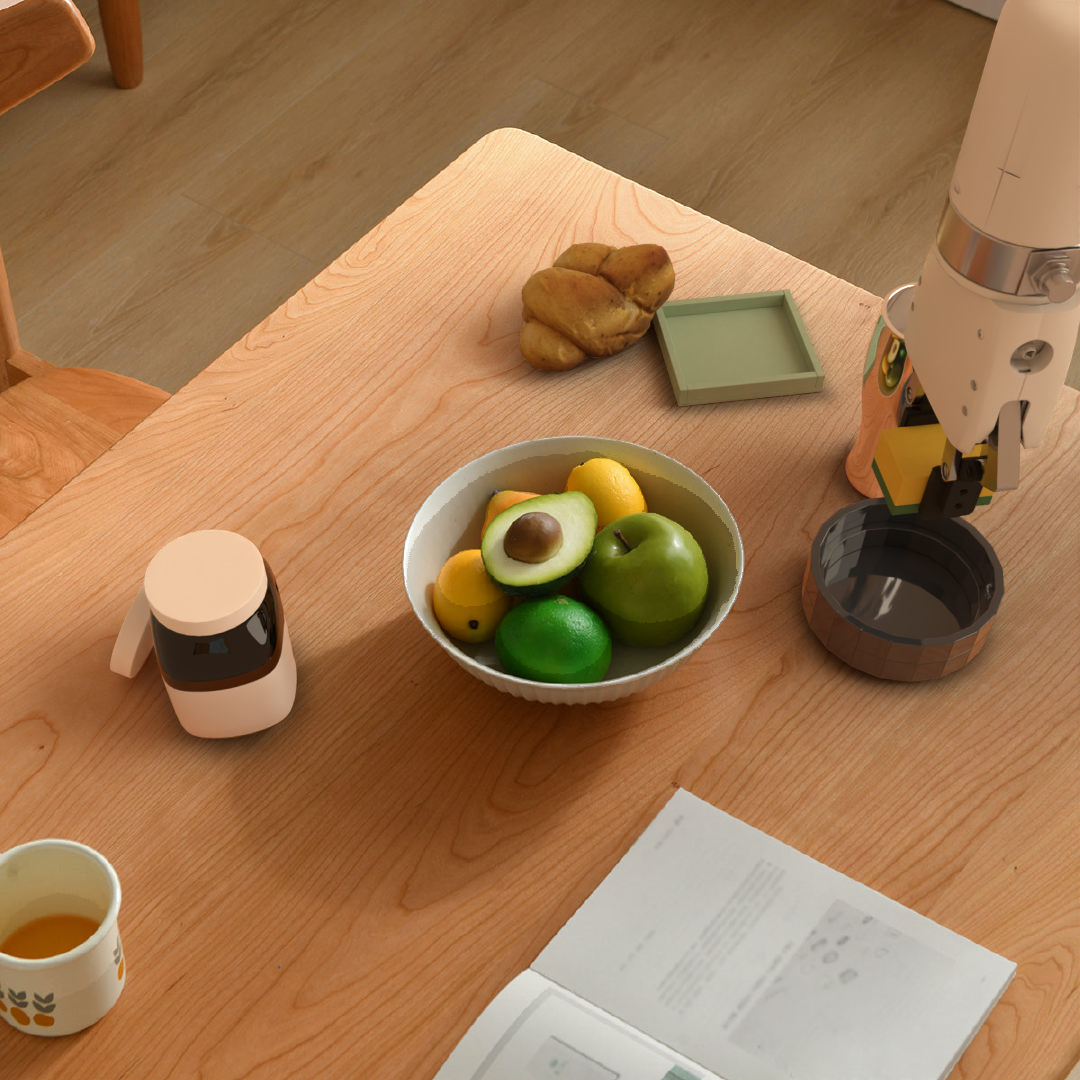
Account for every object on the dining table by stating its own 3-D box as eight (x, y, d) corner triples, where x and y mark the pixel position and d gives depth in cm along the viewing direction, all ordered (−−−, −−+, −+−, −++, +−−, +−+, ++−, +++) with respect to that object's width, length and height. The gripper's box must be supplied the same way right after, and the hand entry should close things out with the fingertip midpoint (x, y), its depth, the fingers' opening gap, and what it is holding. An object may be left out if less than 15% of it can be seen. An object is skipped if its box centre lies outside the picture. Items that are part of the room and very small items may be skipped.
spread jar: (306, 744, 84) (278, 633, 75) (119, 776, 82) (68, 667, 73) (290, 592, 91) (262, 475, 82) (118, 620, 90) (72, 504, 81)
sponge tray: (786, 305, 110) (789, 288, 109) (821, 391, 104) (825, 375, 102) (651, 318, 109) (652, 302, 108) (678, 407, 103) (680, 390, 101)
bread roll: (555, 403, 103) (556, 323, 97) (480, 335, 108) (476, 254, 102) (682, 333, 108) (691, 253, 102) (604, 272, 113) (608, 191, 107)
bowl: (949, 530, 95) (965, 487, 91) (1014, 674, 87) (1033, 632, 83) (780, 550, 94) (789, 507, 90) (829, 697, 86) (841, 656, 82)
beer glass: (830, 495, 97) (869, 336, 85) (848, 429, 101) (887, 269, 89) (928, 519, 95) (981, 360, 84) (942, 451, 100) (994, 291, 88)
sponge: (965, 456, 82) (979, 418, 80) (989, 505, 80) (1004, 467, 77) (870, 466, 81) (881, 428, 79) (891, 515, 79) (903, 478, 76)
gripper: (1165, 339, 61) (1044, 587, 76) (1026, 129, 72) (943, 381, 86) (1007, 354, 61) (915, 602, 75) (890, 140, 71) (829, 392, 85)
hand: (931, 481), depth 80 cm, fingers closed on sponge, 4 cm apart
